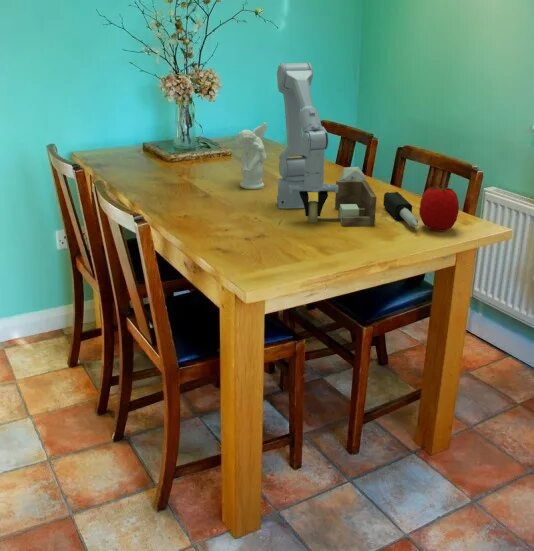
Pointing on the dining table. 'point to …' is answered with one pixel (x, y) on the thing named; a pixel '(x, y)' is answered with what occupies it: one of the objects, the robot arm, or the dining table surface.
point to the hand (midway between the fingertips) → (312, 215)
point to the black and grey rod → (399, 208)
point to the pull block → (345, 211)
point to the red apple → (439, 208)
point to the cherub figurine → (252, 157)
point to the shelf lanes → (357, 202)
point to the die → (352, 174)
